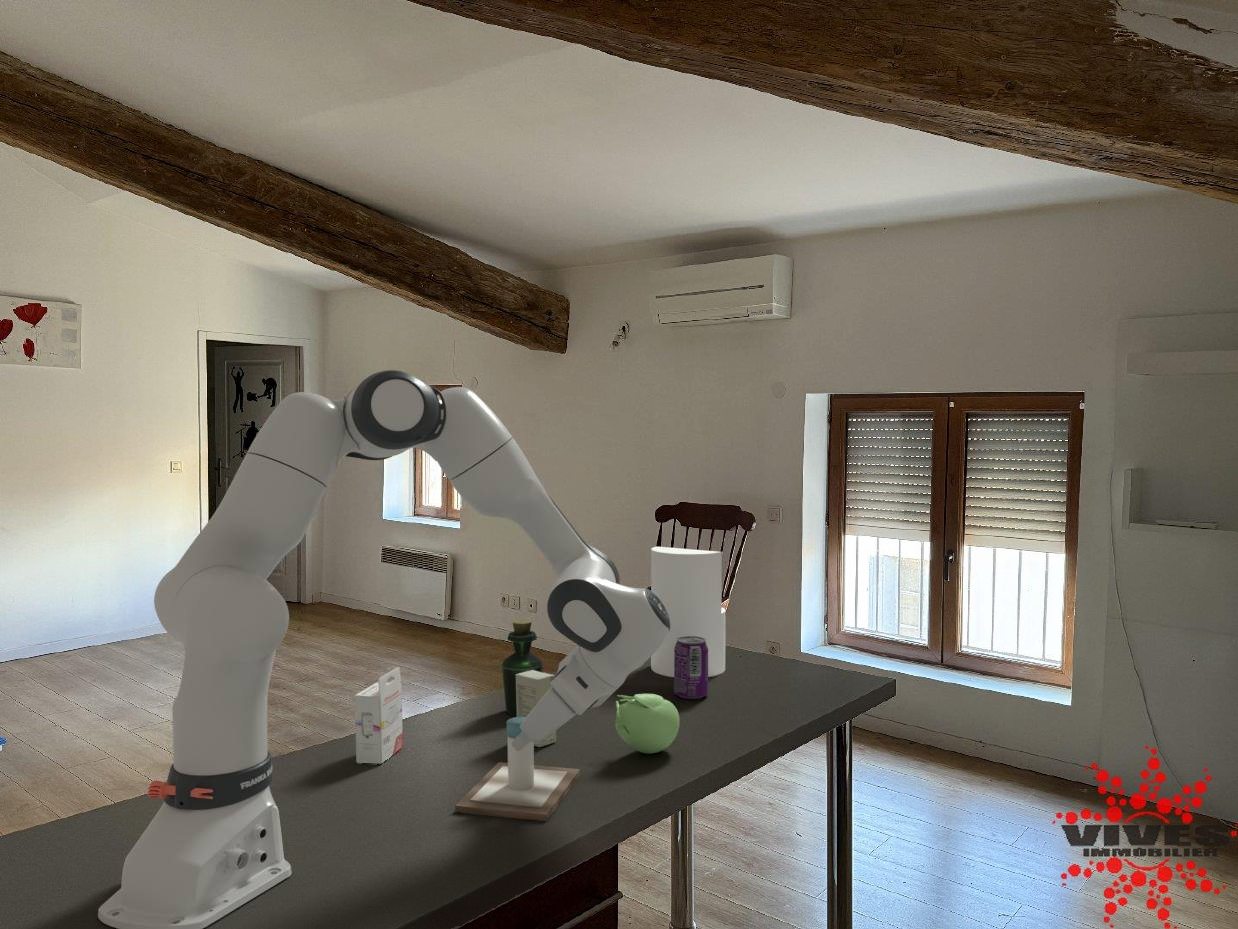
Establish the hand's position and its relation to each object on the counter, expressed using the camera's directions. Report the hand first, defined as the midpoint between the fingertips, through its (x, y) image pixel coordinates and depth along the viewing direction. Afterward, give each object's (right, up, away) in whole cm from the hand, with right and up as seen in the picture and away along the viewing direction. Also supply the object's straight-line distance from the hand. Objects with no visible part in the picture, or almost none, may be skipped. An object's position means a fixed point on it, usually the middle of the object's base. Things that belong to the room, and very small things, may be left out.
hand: (525, 736), depth 143 cm
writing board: (-1, -9, 0) cm, 9 cm away
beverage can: (+29, -7, +52) cm, 60 cm away
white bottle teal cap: (-1, -8, 0) cm, 8 cm away
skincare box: (-1, -8, +24) cm, 25 cm away
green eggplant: (+19, -8, +18) cm, 27 cm away
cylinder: (+31, -6, +74) cm, 81 cm away
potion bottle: (-5, -7, +41) cm, 42 cm away
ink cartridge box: (-27, -8, +17) cm, 33 cm away
